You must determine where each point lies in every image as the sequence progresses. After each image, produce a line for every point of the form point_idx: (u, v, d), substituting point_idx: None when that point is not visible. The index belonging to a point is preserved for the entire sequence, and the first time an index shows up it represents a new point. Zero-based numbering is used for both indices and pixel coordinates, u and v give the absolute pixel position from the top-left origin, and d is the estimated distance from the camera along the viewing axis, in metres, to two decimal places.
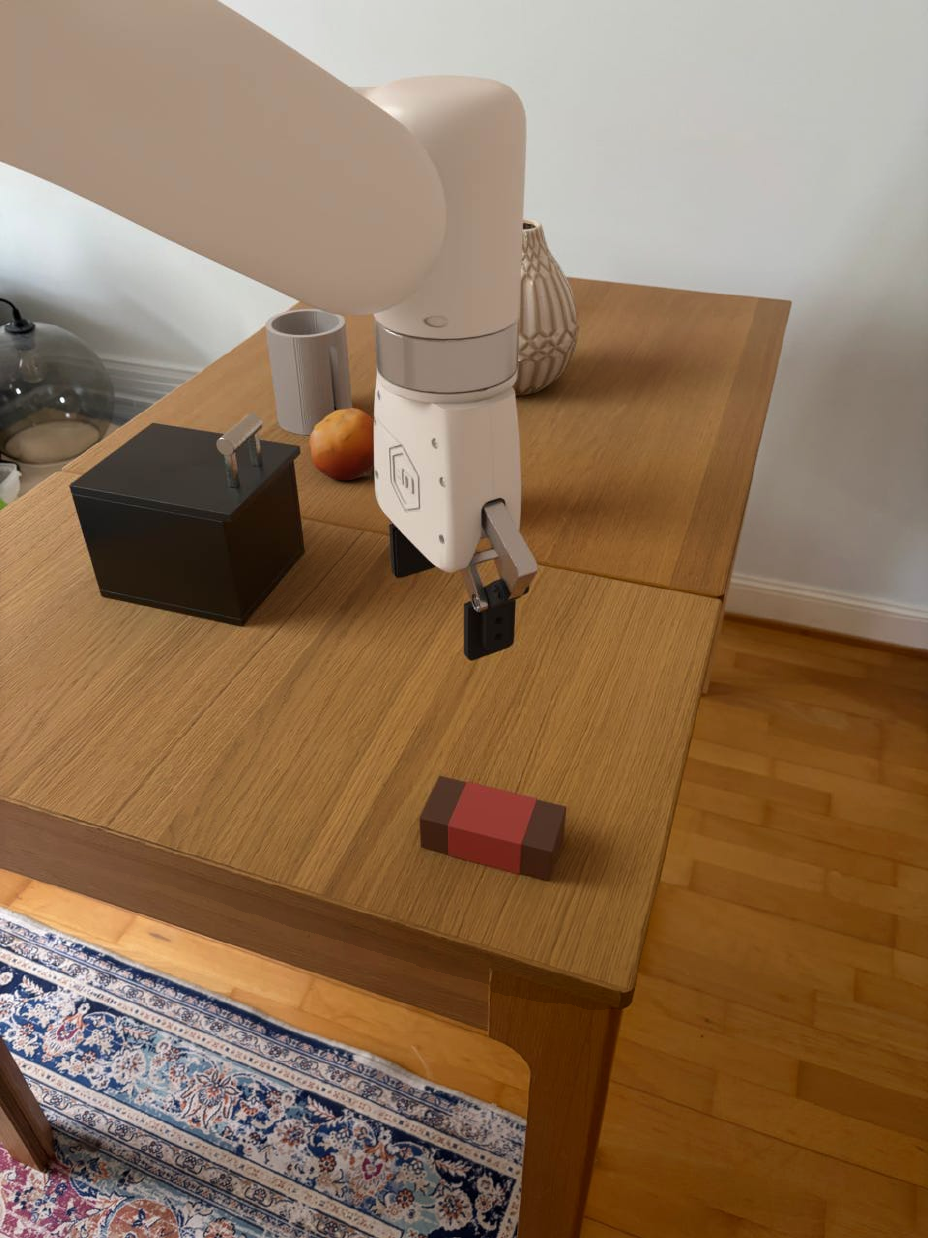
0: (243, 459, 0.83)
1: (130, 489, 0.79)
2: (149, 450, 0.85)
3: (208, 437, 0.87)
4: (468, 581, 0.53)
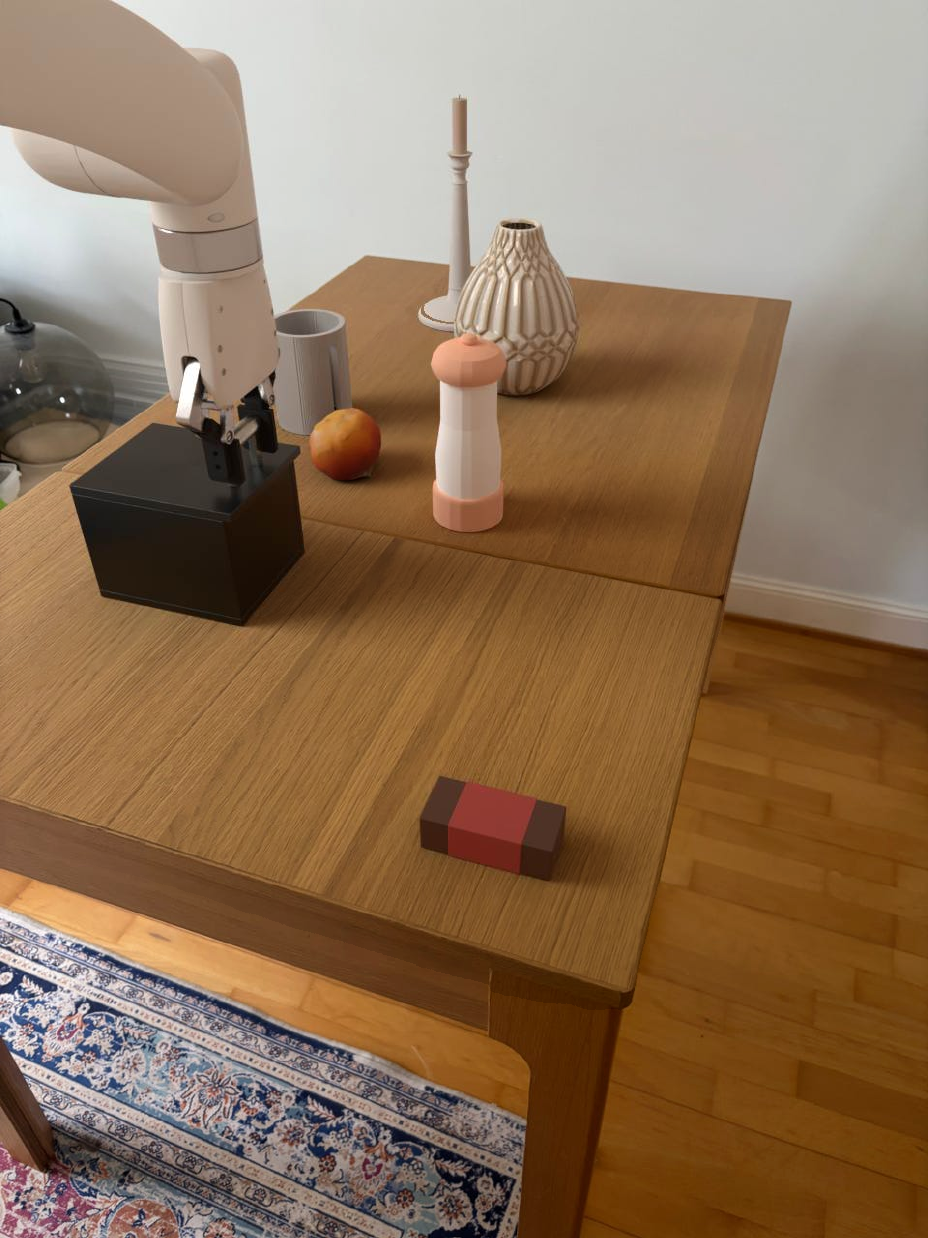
0: (243, 459, 0.83)
1: (130, 489, 0.79)
2: (149, 450, 0.85)
3: None
4: None
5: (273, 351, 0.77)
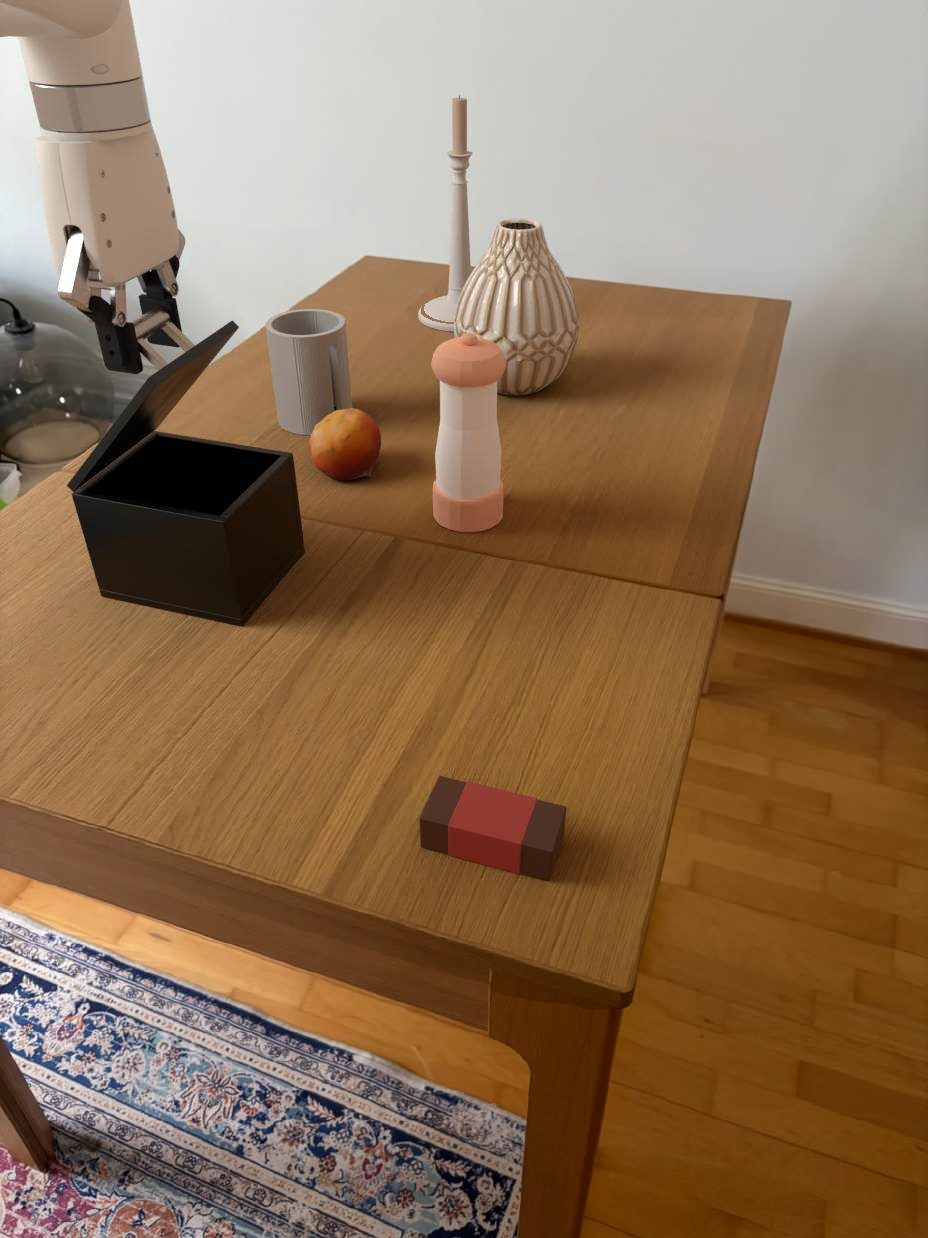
0: None
1: None
2: None
3: None
4: None
5: (171, 233, 0.74)
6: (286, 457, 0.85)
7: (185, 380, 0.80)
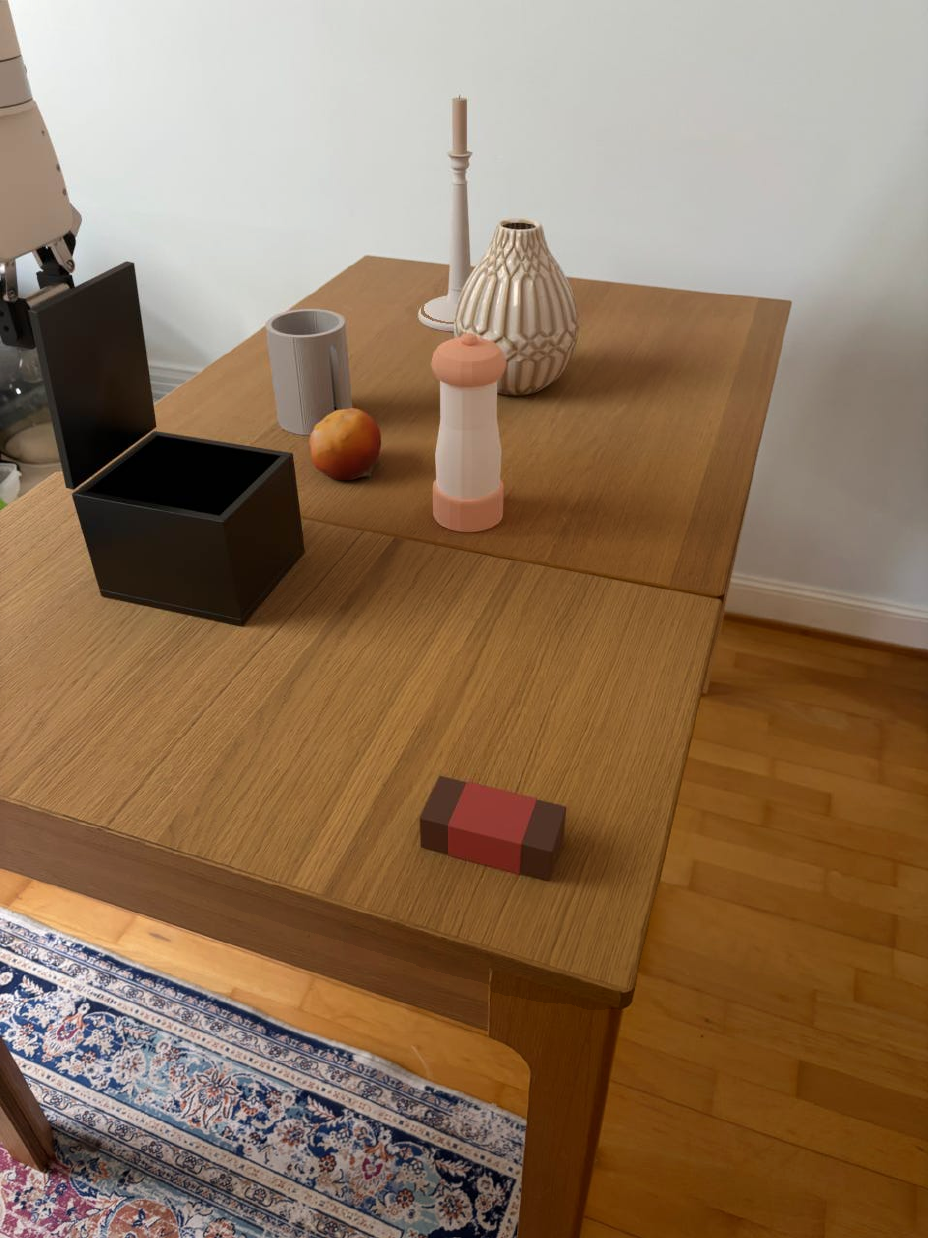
0: None
1: None
2: None
3: None
4: None
5: (63, 211, 0.76)
6: (286, 457, 0.85)
7: (113, 335, 0.80)
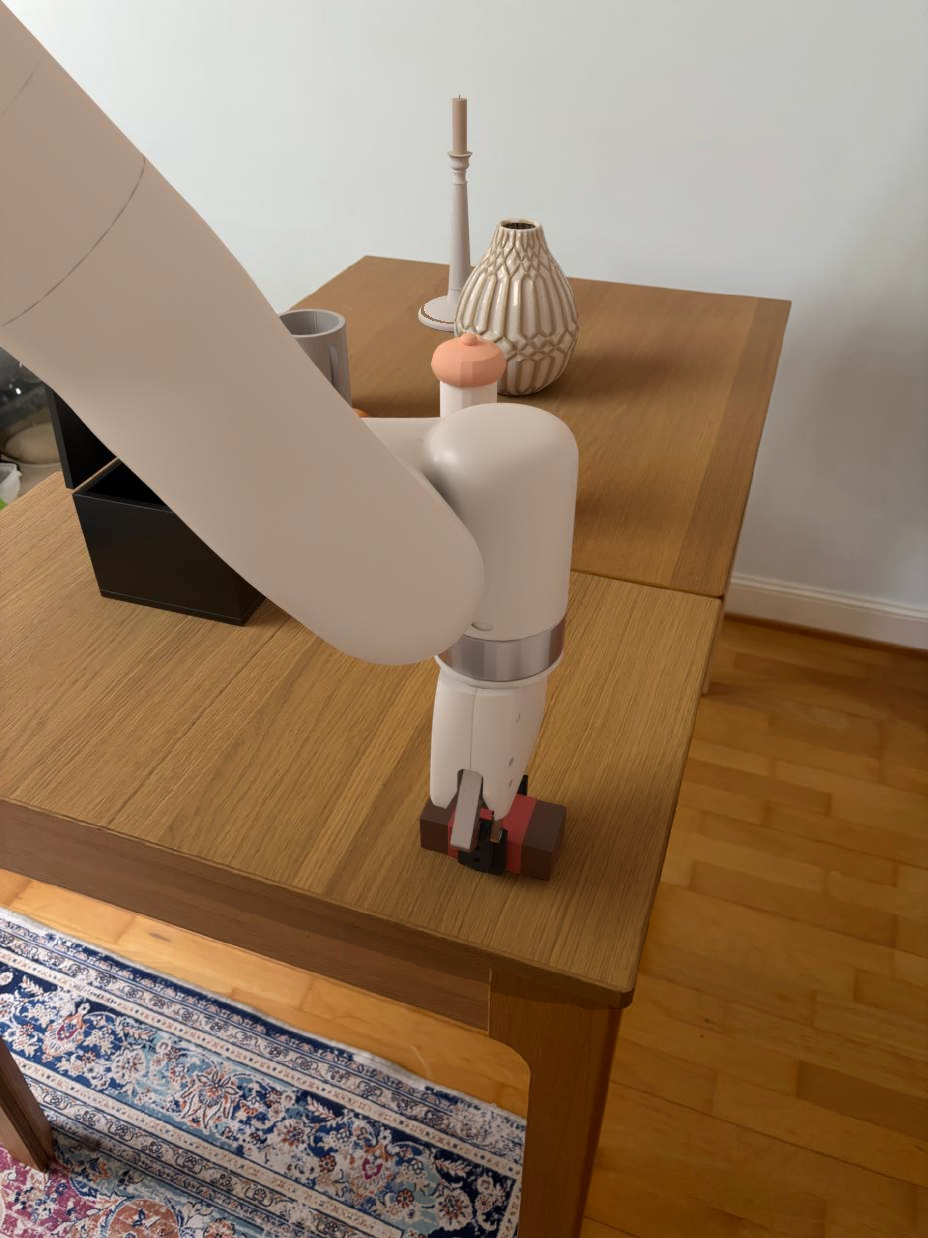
0: None
1: None
2: None
3: None
4: None
5: (542, 714, 0.61)
6: None
7: None
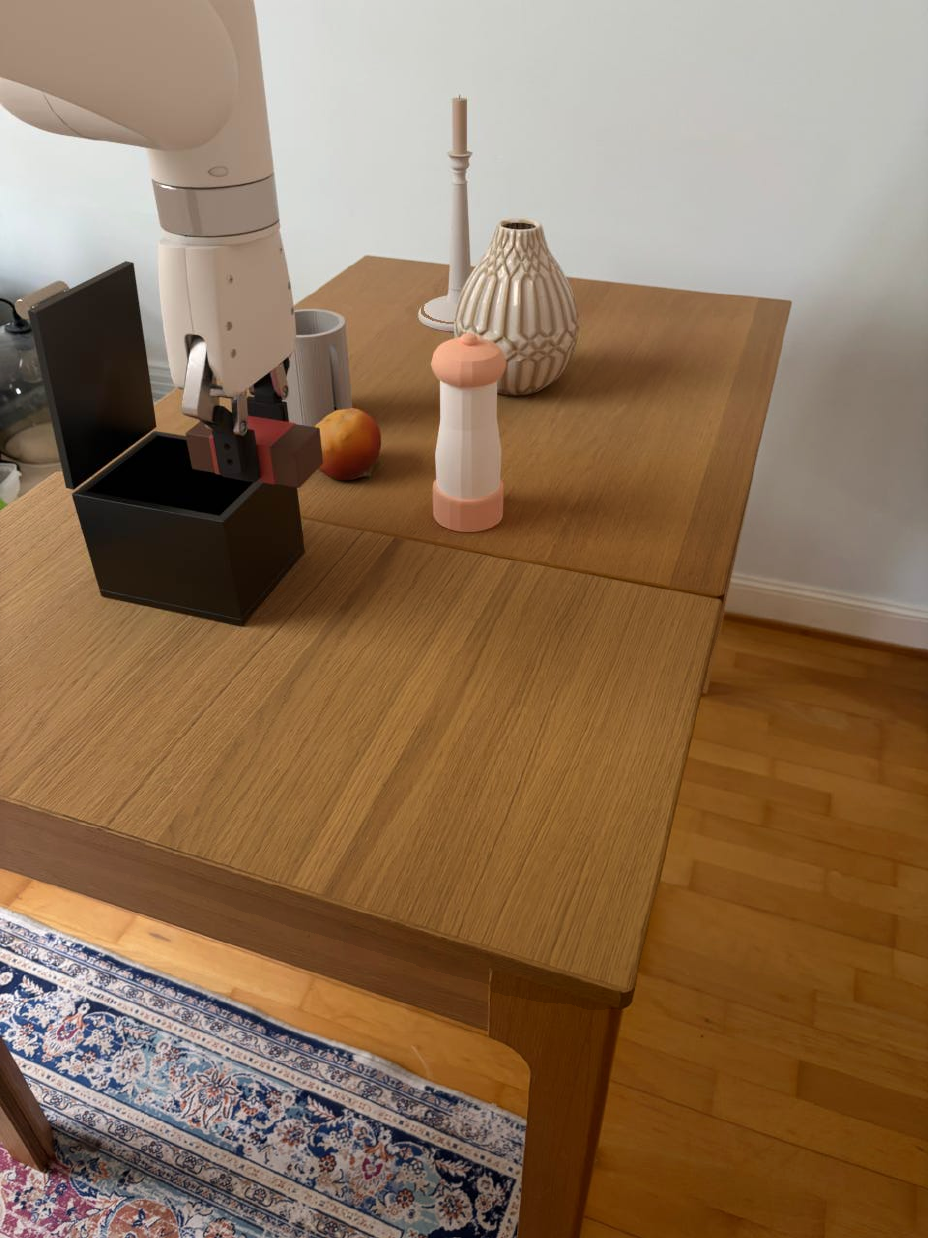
0: None
1: None
2: None
3: None
4: None
5: (290, 332, 0.68)
6: None
7: (112, 335, 0.80)
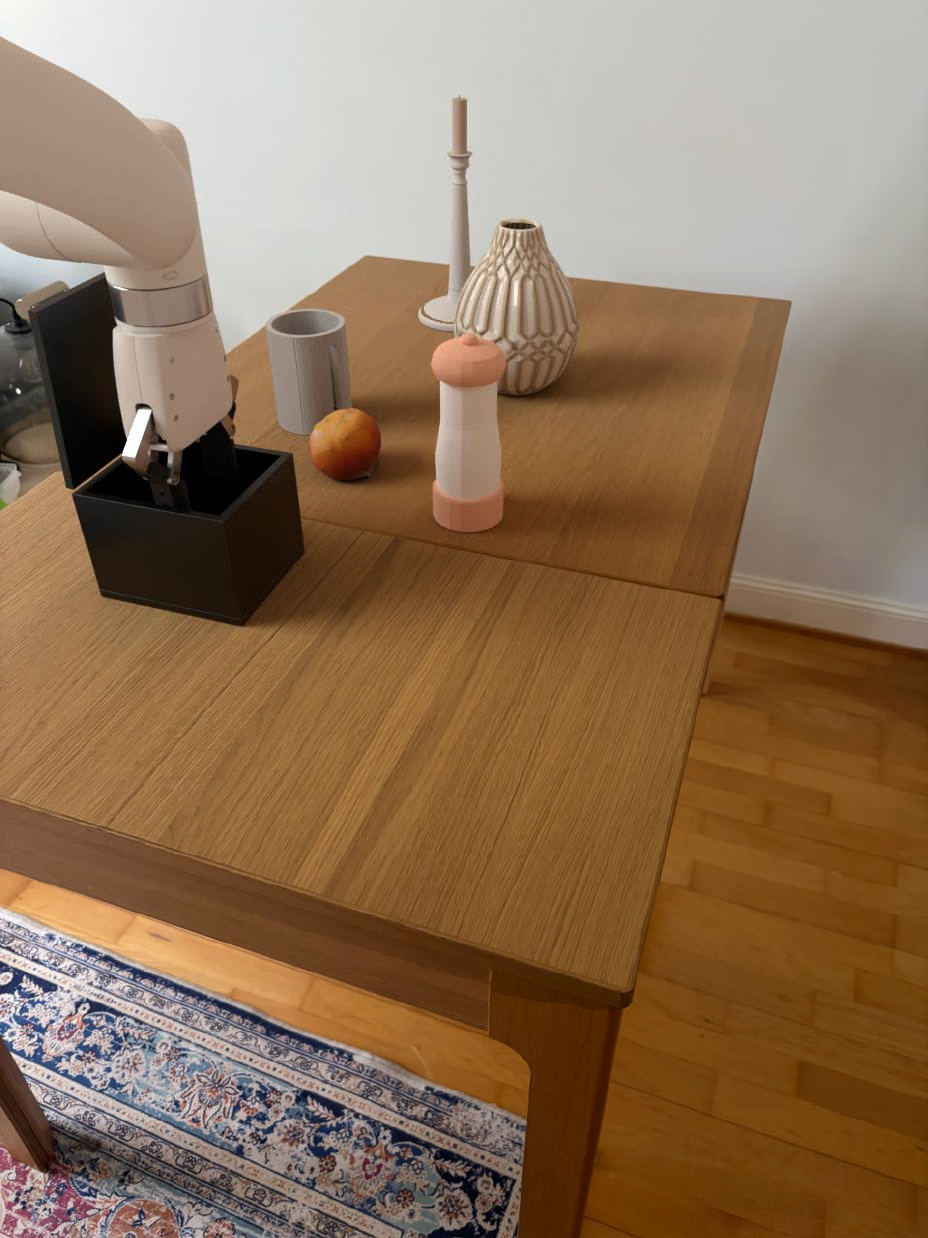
0: None
1: None
2: None
3: None
4: None
5: (226, 395, 0.81)
6: (286, 457, 0.85)
7: (112, 335, 0.80)
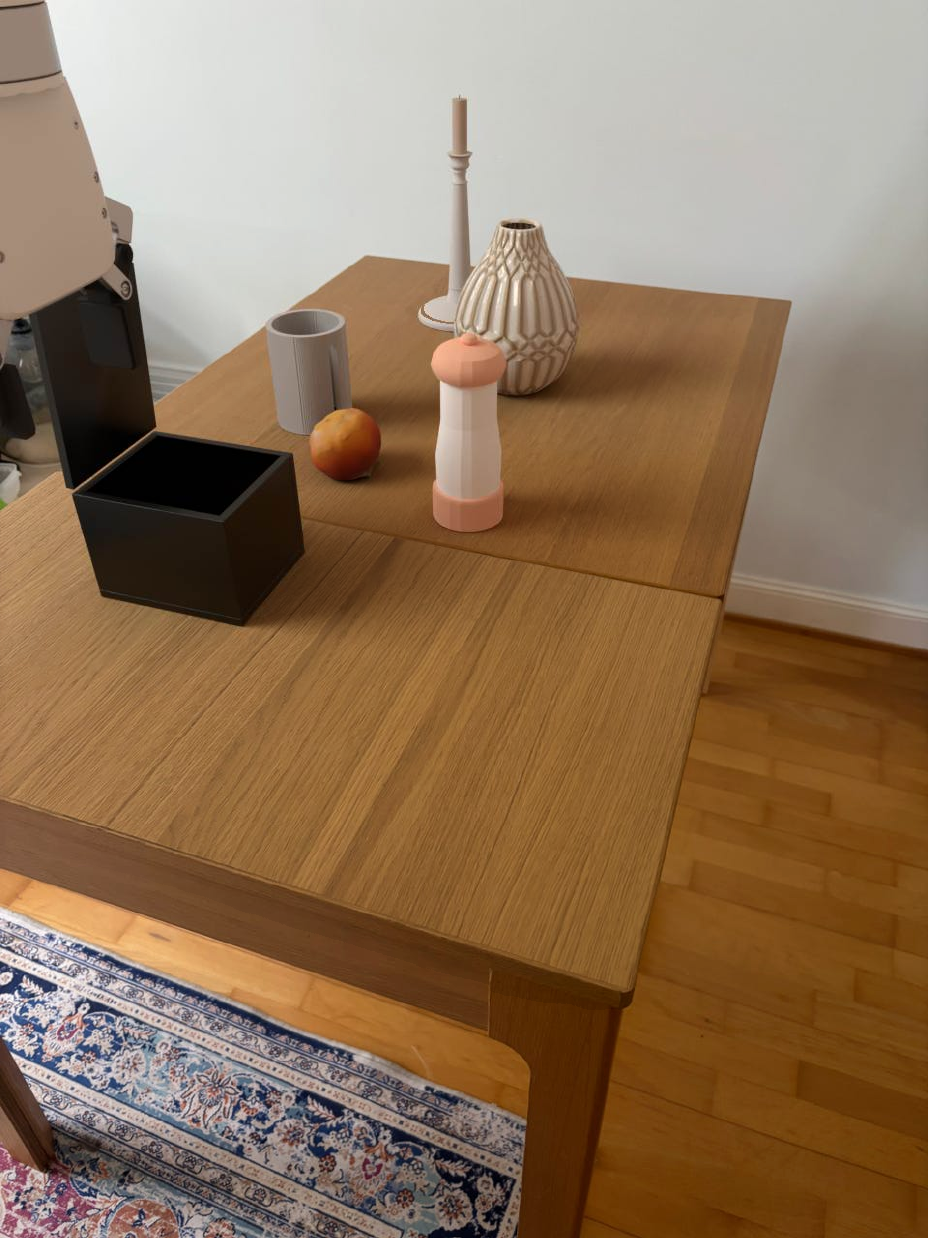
0: None
1: None
2: None
3: None
4: None
5: (102, 240, 0.51)
6: (286, 457, 0.85)
7: None
